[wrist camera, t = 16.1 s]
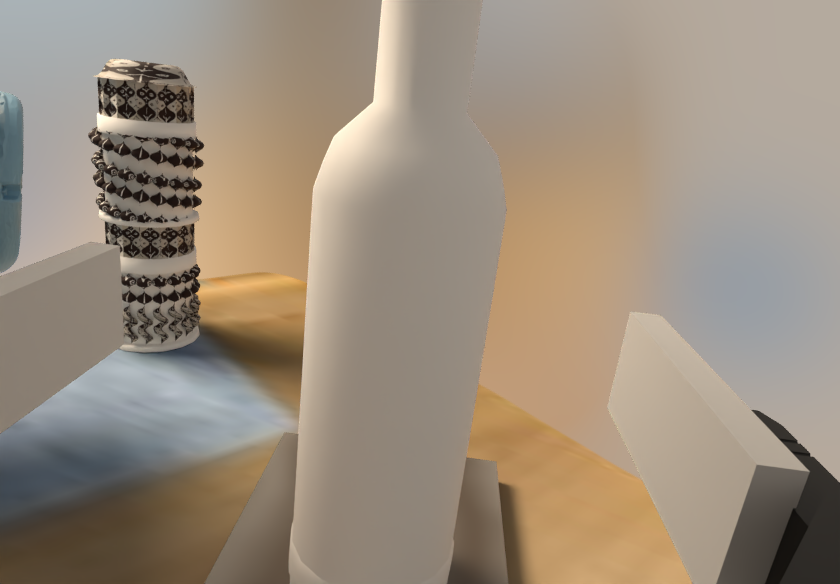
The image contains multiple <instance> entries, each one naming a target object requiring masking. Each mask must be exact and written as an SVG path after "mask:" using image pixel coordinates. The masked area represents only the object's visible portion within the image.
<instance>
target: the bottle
mask: <svg viewBox="0 0 840 584" xmlns="http://www.w3.org/2000/svg"><path fill="white" fill-rule="evenodd" d="M481 8H482V0H382V8H381V20H380V31H379V43H378V55H377V66H376V78H375V89H374V100H373V103H371V104H370V105H369V106H368V107H367V108H366V109H365V110H363V111H362V112H361V113H360V114H359V115H358V116H357V117H355V118H354V119H353V120H352V121H351V122H350V123H349V124H347V125H346V126H345V127H344V128H343V129H342V130H340V131H339V132H338V133H337V134H336V135H335V136H334V137H333V140H332V142H331V144H330V146H329V149H328V151H327V153H326V155H325V158H324V160H323V162H322V165H321V168H320V171H319V173H318V176H317V179H316V182H315V184H314V187H313V199H312V215H311V231H310V232H311V233H310V249H309V266H308V282H307V299H306V316H305V333H304V349H303V366H302V383H301V400H300V417H299V434H298V451H297V468H296V484H295V501H294V518H293V523H292V526H291V536H290V548H289V574H290V584H447V581H448V576H449V571H450V566H451V561H452V556H453V548H454V540H453V536H454V530H455V524H456V517H457V511H458V505H459V499H460V493H461V487H462V481H463V475H464V468H465V462H466V456H467V450H468V444H469V438H470V432H471V426H472V419H473V413H474V407H475V401H476V395H477V389H478V383H479V376H480V370H481V364H482V358H483V352H484V346H485V340H486V334H487V327H488V321H489V315H490V309H491V303H492V297H493V291H494V284H495V278H496V272H497V266H498V259H499V254H500V247H501V242H502V236H503V229H504V223H505V217H506V211H507V209H506V201H505V194H504V186H503V180H502V175H501V170H500V164H499V159H498V155H497V154H496V153H495V151H494V150H493V148H492V147H491V146H490V144H489V143H488V142H487V140H486V139H485V137H484V136H483V134H482V133H481V132H480V130H479V129H478V128H477V126H476V125H475V124H474V122H473V121H472V119H471V118H470V116H469V115H468V114H467V112H468V104H469V97H470V89H471V81H472V74H473V67H474V59H475V53H476V45H477V37H478V30H479V23H480V16H481Z"/></svg>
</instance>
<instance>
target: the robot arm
mask: <svg viewBox="0 0 840 584" xmlns="http://www.w3.org/2000/svg"><path fill="white" fill-rule="evenodd" d="M22 174H23V107H22V104H21V101H20V100H19V99H18V98H17V97H16V96H14V95H13V94H9V93H5V92H2V91H0V273H2V272H4V271H6V270H7V269H9V268H10V267H11V266H12V265H13V264H14V263H15V261H16V259H17V257H18V254H19V246H20V234H21V209H22V208H21V207H22V194H21V189H22ZM122 345H124V330H123V307H122V284H121V261H120V246H118V245H110V244H102V243H94V242H89V243H87V244H84V245H81V246H79V247H76V248H74V249H71V250H68V251H66V252H63V253H60V254H58V255H55V256H53V257H50V258H47V259H45V260H42V261H39V262H37V263H34V264H31V265H29V266H26V267H24V268H21V269H19V270H16V271H13V272H10V273H8V274H5V275H3V276H0V434H1V433H2V432H3V431H5V430H6V429H8V428H9V427H10V426H12V425H13V424H14V423H16V422H17V421H19V420H20V419H21V418H23V417H24V416H25V415H27V414H28V413H30V412H31V411H32V410H34V409H35V408H37V407H38V406H39V405H41V404H42V403H43V402H45V401H46V400H48V399H49V398H50V397H52V396H53V395H55V394H56V393H57V392H59V391H60V390H61V389H63V388H64V387H66V386H67V385H68V384H70V383H71V382H72V381H74V380H75V379H77V378H78V377H79V376H81V375H82V374H84V373H85V372H86V371H88V370H89V369H90V368H92V367H93V366H95V365H96V364H97V363H99V362H100V361H101V360H103V359H104V358H106V357H107V356H108V355H110V354H111V353H113V352H114V351H115V350H117V349H118V348H119V347H121V346H122ZM607 409H608V411H609V413H610V415H611V417H612V419H613V421H614V423H615V425H616V427H617V429H618V431H619V433H620V435H621V437H622V439H623V441H624V443H625V446H626V448H627V450H628V452H629V454H630V456H631V458H632V460H633V462H634V464H635V466H636V468H637V470H638V472H639V474H640V476H641V478H642V480H643V483H644V485H645V487H646V489H647V491H648V493H649V495H650V497H651V499H652V501H653V503H654V505H655V507H656V509H657V511H658V513H659V515H660V517H661V519H662V521H663V523H664V526H665V528H666V530H667V532H668V534H669V536H670V538H671V540H672V542H673V544H674V546H675V548H676V550H677V552H678V554H679V556H680V558H681V560H682V562H683V564H684V567H685V569H686V571H687V573H688V575H689V577H690V579H691V581H692V583H693V584H840V483H839V482H838V481H837V480H836V479H835V478H834V477H833V476H832V475H831V474H830V473H829V472H828V471H827V470H826V469H825V468H824V467H823V466H822V465H821V464H820V463H819V462H818V461H817V460H816V459H815V458H814V457H810V453H809V452H808V451H807V450H806V449H805V448H804V447H803V446H802V445H801V444H798V443H797V440H796V439H795V438H794V437H793V436H792V435H791V434H790V433H789V432H788V431H787V430H786V429H785V428H784V427H783V426H782V425H781V424H779V423H777V422H776V421H774V420H772V419H771V418H769V417H768V416H766V415H764V414H763V413H761V412H760V411H756V410H750V409H749V407H748V406H747V405H746V404H745V403H744V402H743V401H742V400H741V399H740V398H739V397H738V396H737V395H736V394H735V393H734V392H733V391H732V389H731V388H730V387H729V386H728V385H727V384H726V383H725V382H724V381H723V380H722V379H721V378H720V377H719V376H718V375H717V374H716V373H715V372H714V371H713V370H712V369H711V367H709V365H708V364H707V363H706V362H705V361H704V360H703V359H702V358H701V357H700V356H699V355H698V354H697V353H696V352H695V351H694V350H693V349H692V347H691V346H689V344H688V343H687V342H686V341H685V340H684V339H683V338H682V337H681V336H680V335H679V334H678V333H677V332H676V331H675V330H674V329H673V328H672V326H670V324H669V323H668V322H667V321H666V320H665V319H664V318H663V317H662V316H661V315H654V314H647V313H638V312H630V315H629V319H628V324H627V328H626V332H625V337H624V341H623V345H622V349H621V353H620V357H619V361H618V365H617V369H616V373H615V378H614V382H613V386H612V390H611V394H610V399H609V402H608V407H607Z"/></svg>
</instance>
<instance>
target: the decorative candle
mask: <svg viewBox="0 0 840 584" xmlns="http://www.w3.org/2000/svg"><path fill="white" fill-rule="evenodd" d="M96 77H98V95H99V96H98V98H99V113H98V114H97V124H98V125H97V127H96V128H94V129H93V130H92V131H91V132H90V133H89V134H88V136H89V138H90V139H91V142H92V143H94V144H95V145H97V146H99V147H101V148H102V149H103V150H102V149H100V150H99V151H97V152H95V154H94V156H93V157H92V159H91V161H92V163H93V164H94V165H95V167H96V168H97V169H99V170H98V171H97V172H96V174H95V175H93V179H94V181H95V184H96V185H97V186H98V187H100V188H102V189H103V190H104V191H103V192H101V193H99V195H98V198H97V199H96V203H97V204H98V205H99V209H100V211H99V218H100V219H102V220H104V221H105V234H106V244H110V245H118V246H120V261H121V284H122V307H123V330H124V345H122V346H121V347H119V348H118V349H121V350H125V351H132V352H142V353H148V352H164V351H169V350H173V349H178V348H182V347H184V346H186V345H188V344H190V343H193V342H194V341H195V340H196V339H197V338H198V337H199V328H198V324H199V320H200V316H199V315H198V310H199V306H200V304H201V302H200V301H199V300H198V296H197V295H196V294H195V293H196V292H198V290H199V288H200V284H199V283H198V280H197V279H196V277H197V276H198V275H199V273H200V268H199V267H198V265H197V264H196V247H195V246H194V223H195V222H197V221H199V214H198V212H197V211H195V210H193V208H194V207H196V206H198V205H200V204H201V203H202V201H201V199H199V198H198V197H197V196H196V195H193V191H194V192H195V191H196V190H198V189H200V188H201V186H202V184H201V182H200V181H198V180H196V179H195V177H194V179H193V177H192V176H193V172H192V171H193V169H198V168H199V167H201V166H203V161H202V160H201V159H199V158H198V157H197V156H196V155H195V157H193V156H192V152H193V151H195V152H198V151H200V150H201V149H202V148H203V147H204V144H203V143H202V142H201V141H199V140H198V139H197V137H196V122H195V121H194V86H192V85H191V84H190V83H189V81H188V79H187V77H186V75H185V74H184V72H183V71H182V70H181V69H180V68H179V67H176V66H172V65H163V64H155V63H147V62H139V61H130V60H122V59H111V60H109V61H108V62H107V63H106V65H105V67H104V68H103V70H102V72H101V73H100V74H99V75H97V76H96ZM195 88H196V87H195ZM194 139H195V140H194Z"/></svg>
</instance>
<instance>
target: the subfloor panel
mask: <svg viewBox="0 0 840 584" xmlns="http://www.w3.org/2000/svg"><path fill="white" fill-rule="evenodd" d="M297 451H298V434H293V433H284V435H283V436H282V438H281V440H280V442H279V444H278V446H277V448H276V450H275V451H274V453H273V455H272V457H271V459H270V461H269V463H268V465H267V466H266V468H265V470H264V472H263V474H262V476H261V478H260V480H259V482H258V483H257V485H256V487H255V489H254V491H253V493H252V495H251V497H250V498H249V500H248V502H247V504H246V506H245V508H244V510H243V512H242V513H241V515H240V517H239V519H238V521H237V523H236V525H235V527H234V529H233V530H232V532H231V534H230V536H229V538H228V540H227V542H226V544H225V545H224V547H223V549H222V551H221V553H220V555H219V557H218V559H217V561H216V562H215V564H214V566H213V568H212V570H211V572H210V574H209V576H208V577H207V579H206V581H205V583H204V584H290V574H289V548H290V536H291V526H292V523H293V518H294V501H295V484H296V468H297ZM453 540H454V548H453V556H452V561H451V566H450V571H449V576H448V581H447V584H508V574H507V564H506V554H505V544H504V534H503V524H502V514H501V504H500V494H499V484H498V474H497V464H496V462H495V461H488V460H481V459H474V458H466V462H465V468H464V475H463V481H462V487H461V493H460V499H459V505H458V511H457V517H456V524H455V530H454V536H453Z"/></svg>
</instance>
